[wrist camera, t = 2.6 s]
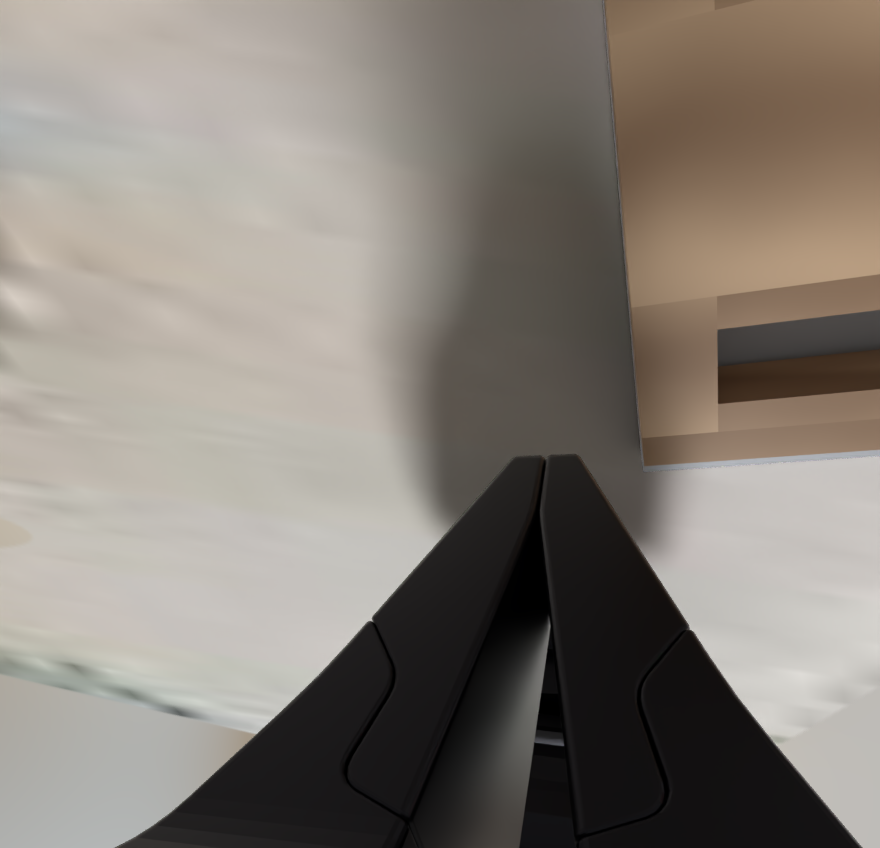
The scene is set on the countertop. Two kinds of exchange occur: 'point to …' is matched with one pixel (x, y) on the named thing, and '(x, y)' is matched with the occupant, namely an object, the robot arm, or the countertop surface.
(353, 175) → the countertop surface
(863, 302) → the panel
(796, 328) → the boss board
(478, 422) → the countertop surface
